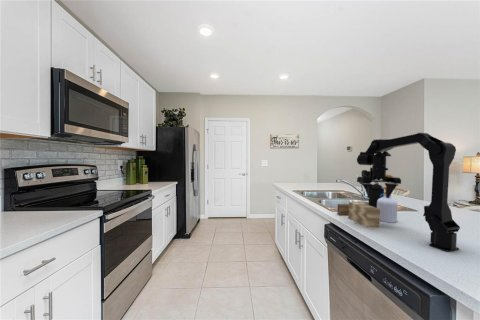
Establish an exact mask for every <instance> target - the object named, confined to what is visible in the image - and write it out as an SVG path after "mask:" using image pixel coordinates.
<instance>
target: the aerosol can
mask: <svg viewBox="0 0 480 320" xmlns="http://www.w3.org/2000/svg"><path fill="white" fill-rule="evenodd" d="M379 183H380V182H374V184H373V183H372V191H371V197H370V198H368V205H369V206H372V207H375V208H377V200H378V199H380V198H382V197H383V196H384V192H385V190H384V188H382V187H384V186H383V185H381V184H379Z"/></svg>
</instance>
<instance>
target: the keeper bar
mask: <svg viewBox="0 0 480 320" xmlns="http://www.w3.org/2000/svg"><path fill="white" fill-rule="evenodd" d="M348 204H349V216H348V219H349V220H351V221H354V222H355V223H357V224H360V225H361V226H363V227H366V228H368V229H370V228H380V225H381V224H380V222H381V221H380V209H378V208H375V207H372V206H369V204H368V203H367V204H366V203H363V202H360V201H349V202H348Z"/></svg>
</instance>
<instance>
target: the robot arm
mask: <svg viewBox="0 0 480 320" xmlns="http://www.w3.org/2000/svg"><path fill="white" fill-rule="evenodd" d="M417 144H419V145H420V146H421V147H422V148H424V149H425V150H426V151H428V158H429V160H430V163H431V164H432V181H431V200H430V203H429V204H428V205H424V206H423V217H424V220H425V222H427V224H428V226H429V230H430V231H431V232H430V241H429V242H430V243H428V245H429V247H430V246H431V247H434V248H437V249H440V250H443V251H446V252H453V251H458V250H459V249H460V248H459V247H457V237H458V235H457V233H458V232H459V230H461V226H460V225H459V224H458V223H457V222H456V221H455V220H454V219H453V215H452V210H451V208H450V206H449V204H448V198H449V197H448V196H449V195H448V194H449V177H450V176H449V175H450V166H451V164H452V162H453V160H455V156H456V151H457V148H456V146H455V145H454V144H453V143H450V142H445V141H443V140H442V139H439V138H437V137H434V136H432V135H431V134H429V133H428V132H417V133H414V134H409V135H405V136H399V137H395V138H390V139H389V138H388V139H387V138H385V139H384V138H383V139H382V138H381V139H372V141H371V142H370V145H369V147H368V148H367V149H366V151H360V152H359V154H358V155H357V158H356V162H357V164H358V165H360V166H371V167H370V168H369V170H366V169H363V170H362V171H361V175H360V176H358V177H357V179H356V182H357V183H359V184H360V185H362V187H363V188H364V190H365V192H366V193H365V194H366V196H367V198H368V199H369V198H370V197H371V191H372V185H373V183H375V182H378V183H384V185H385V187H386V190H385V192H386V198H389V197H390V195H391V196H392V193H393V192H394V191H395V189H396V188H397V187H399V186H400V185H401V184H402V179H401V178H400V177H396V176H393V177H386V175H387V171H388V170H389V168H388V167H387V157H391V156H392V155H391V153H389V152H388V151H390V150H392V149H394V148H400V147H405V146H410V145H417Z"/></svg>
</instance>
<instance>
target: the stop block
mask: <svg viewBox="0 0 480 320" xmlns="http://www.w3.org/2000/svg"><path fill="white" fill-rule="evenodd" d="M336 209H337V213H336V214H337V215H338V216H339V217H341V216H342V217H344V216H349V203H338V204H337V208H336Z"/></svg>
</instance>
